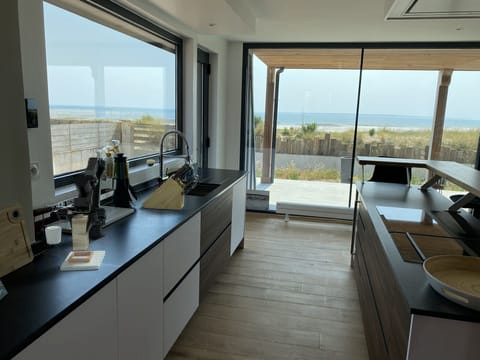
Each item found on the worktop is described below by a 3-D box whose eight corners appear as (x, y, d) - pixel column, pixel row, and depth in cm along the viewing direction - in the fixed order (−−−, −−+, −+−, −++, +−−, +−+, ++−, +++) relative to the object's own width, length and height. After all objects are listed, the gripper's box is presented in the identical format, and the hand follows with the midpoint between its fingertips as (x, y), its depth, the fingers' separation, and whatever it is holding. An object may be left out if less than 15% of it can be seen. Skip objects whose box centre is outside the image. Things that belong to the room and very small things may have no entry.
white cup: (46, 240, 173) (46, 226, 172) (62, 239, 176) (62, 225, 174) (44, 245, 167) (43, 230, 166) (61, 244, 169) (60, 229, 168)
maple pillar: (76, 245, 152) (74, 213, 149) (88, 245, 153) (87, 213, 150) (73, 250, 147) (71, 216, 144) (86, 249, 148) (85, 216, 145)
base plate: (70, 254, 157) (70, 248, 157) (105, 253, 160) (104, 247, 160) (60, 270, 142) (60, 263, 141) (98, 269, 145) (98, 262, 144)
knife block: (195, 211, 235) (196, 164, 230) (141, 208, 236) (141, 161, 230) (197, 207, 246) (198, 161, 241) (145, 204, 247) (145, 159, 241)
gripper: (56, 189, 147) (49, 223, 139) (105, 189, 151) (101, 222, 143) (62, 203, 156) (56, 236, 148) (108, 202, 160) (104, 235, 152)
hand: (79, 232), depth 147 cm, fingers closed on maple pillar, 5 cm apart
